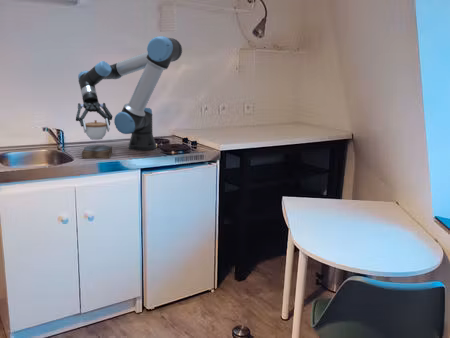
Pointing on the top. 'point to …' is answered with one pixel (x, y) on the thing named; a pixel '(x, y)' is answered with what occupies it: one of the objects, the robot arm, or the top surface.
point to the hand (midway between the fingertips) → (97, 130)
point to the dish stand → (97, 151)
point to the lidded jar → (96, 130)
